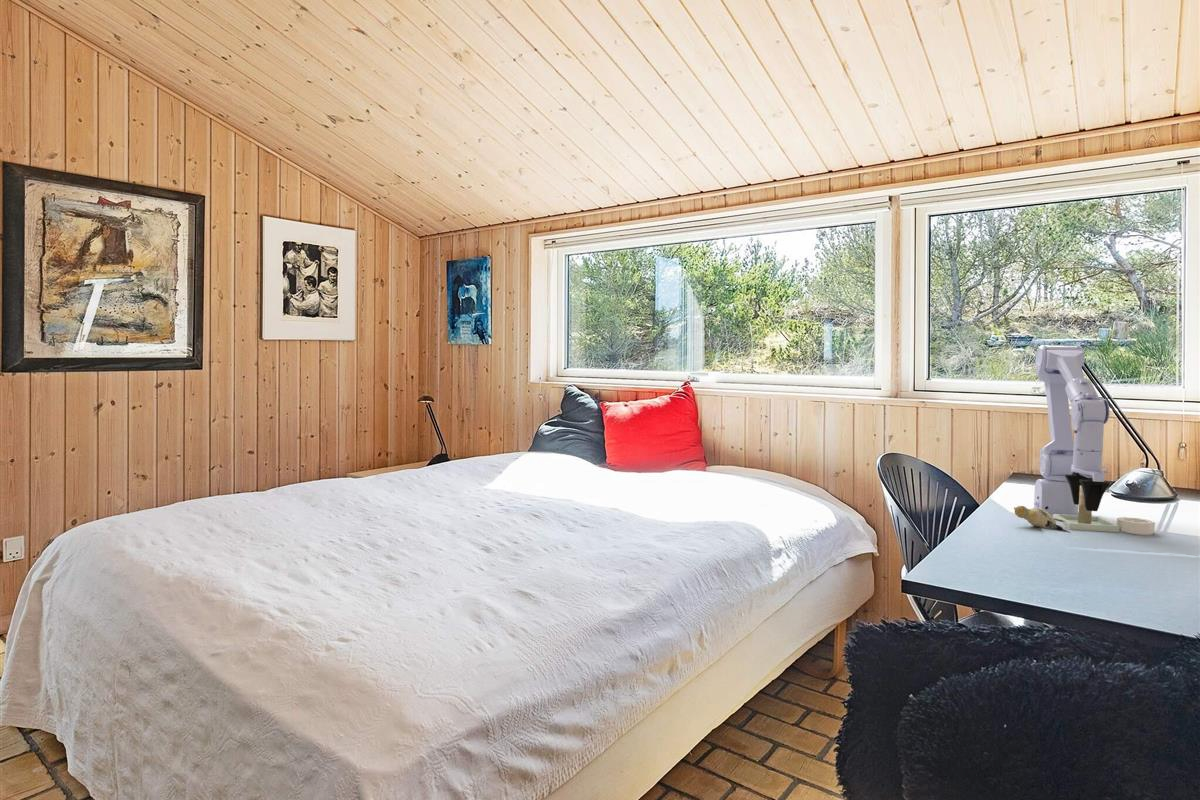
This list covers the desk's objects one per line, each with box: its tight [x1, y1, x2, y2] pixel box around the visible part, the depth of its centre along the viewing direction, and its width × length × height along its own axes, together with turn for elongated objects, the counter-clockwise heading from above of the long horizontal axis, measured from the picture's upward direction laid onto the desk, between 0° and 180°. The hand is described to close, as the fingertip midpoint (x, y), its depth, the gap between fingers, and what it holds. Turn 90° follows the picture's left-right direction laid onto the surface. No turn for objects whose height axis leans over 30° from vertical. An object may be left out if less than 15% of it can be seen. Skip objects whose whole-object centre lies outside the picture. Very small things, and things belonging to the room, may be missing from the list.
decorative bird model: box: [1013, 505, 1072, 534], centre depth 170 cm, size 4×13×10 cm
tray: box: [1052, 514, 1120, 533], centre depth 172 cm, size 10×11×2 cm
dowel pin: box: [1078, 485, 1093, 524], centre depth 172 cm, size 3×3×9 cm
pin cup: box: [1116, 516, 1156, 536], centre depth 167 cm, size 6×6×3 cm
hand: (1085, 507), depth 172 cm, fingers open, 7 cm apart
